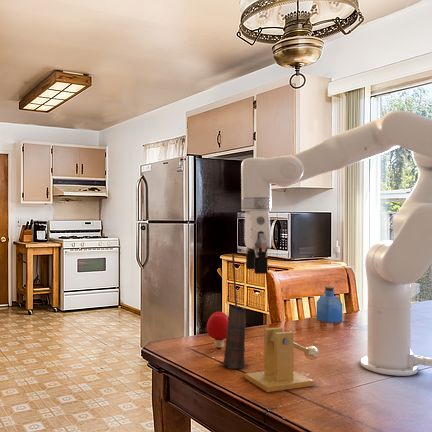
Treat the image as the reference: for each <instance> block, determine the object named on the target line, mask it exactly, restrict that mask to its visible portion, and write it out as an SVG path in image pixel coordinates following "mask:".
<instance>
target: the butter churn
mask: <svg viewBox="0 0 432 432" xmlns="http://www.w3.org/2000/svg"><path fill="white" fill-rule="evenodd" d="M231 260H232V276H233V277H232V278H233V291H234V292H233V293H234V306H229V308H228V315H227V316H228V327H227V336H226V339H225V345H224V355H223V366H224V367H227V369H235V370H237V369H240V370H241V369H242V368H244V367H245V351H246V348H245V346H246V345H245V343H246V342H245V341H246V310H247V309H246V308H245V307H242V306H238V300H237V298H238V297H237V295H238V294H237V283H236V265H235V254H231Z"/></svg>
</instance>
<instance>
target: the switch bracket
mask: <svg viewBox="0 0 432 432" xmlns="http://www.w3.org/2000/svg"><path fill="white" fill-rule="evenodd" d="M263 330H264V331H263V332H264V334H263V337H264V342H263V347H264V349H263V350H264V351H263V355H264V356H263V360H264V361H263V365H264V366H263V370H262V371H255V372H247V373H244V376H245V377H244V379H245V380H247V381H248V382H250V383H251V384H253V385H255V386H257V387H258V388H259V389H262V390H263V391H264V392H266V393H272V392H279V391H285V390H286V391H287V390H293V389H299V388H300V389H301V388H307V387H313V386H314V380H313V379H311V378H309V377H307V376H305V375H303V374H301V373H300V372H297V371H295V370H294V367H295V366H294V362H295V361H294V353H295V351H294V349H295V348H294V343H295V341H294V339H295V338H294V337H295V332H293V331H291V330H290V331H284V329H283V327H278V326H277V327H269V328H264V329H263ZM273 330H274V331H277V332H279V333H275V342H273V341H271V340H270V337H271V335H272V332H273Z"/></svg>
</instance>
